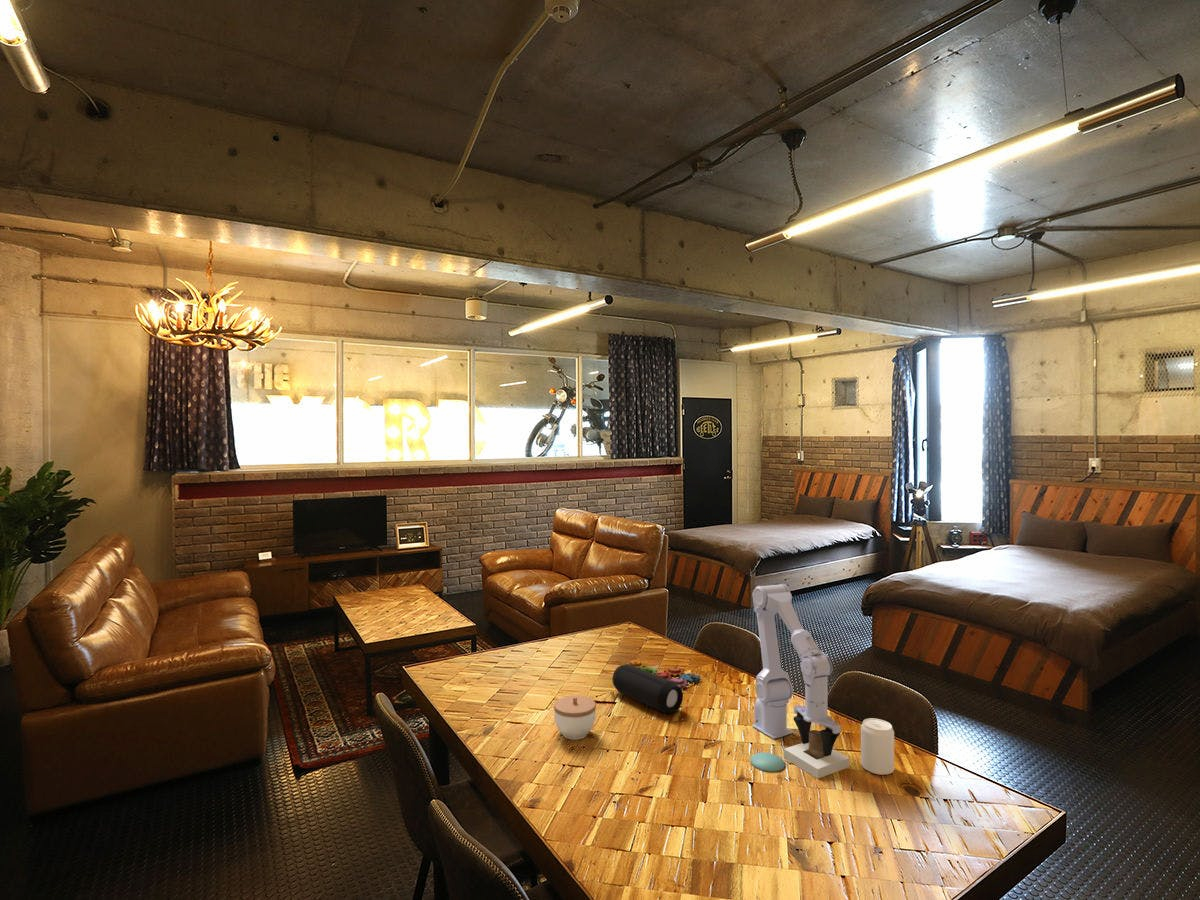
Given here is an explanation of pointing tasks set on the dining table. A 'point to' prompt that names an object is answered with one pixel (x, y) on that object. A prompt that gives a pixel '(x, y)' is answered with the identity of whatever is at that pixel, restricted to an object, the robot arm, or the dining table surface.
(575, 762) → the dining table surface
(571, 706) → the lidded bowl
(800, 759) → the block
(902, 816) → the dining table surface
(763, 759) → the teal pad
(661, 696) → the portable speaker
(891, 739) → the beverage can
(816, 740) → the walnut dowel
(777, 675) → the robot arm
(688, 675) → the gear puzzle
